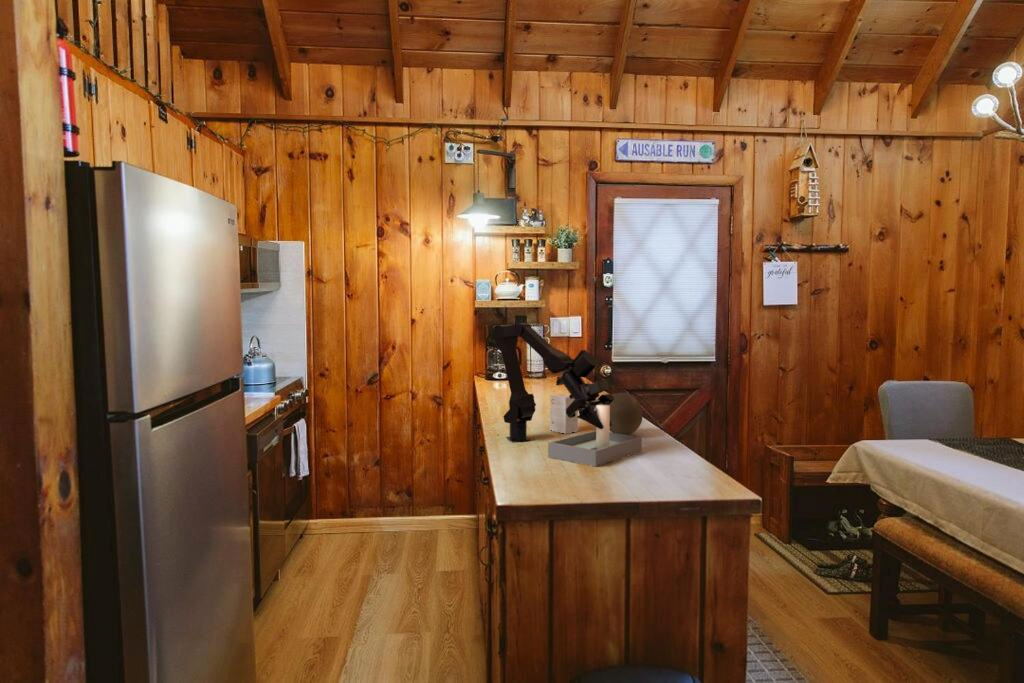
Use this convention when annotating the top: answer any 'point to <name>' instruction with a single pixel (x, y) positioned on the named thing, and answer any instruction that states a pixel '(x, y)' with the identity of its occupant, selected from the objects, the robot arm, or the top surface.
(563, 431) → the small box
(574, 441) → the tray
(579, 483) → the top surface
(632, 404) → the brown ball
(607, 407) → the peg
